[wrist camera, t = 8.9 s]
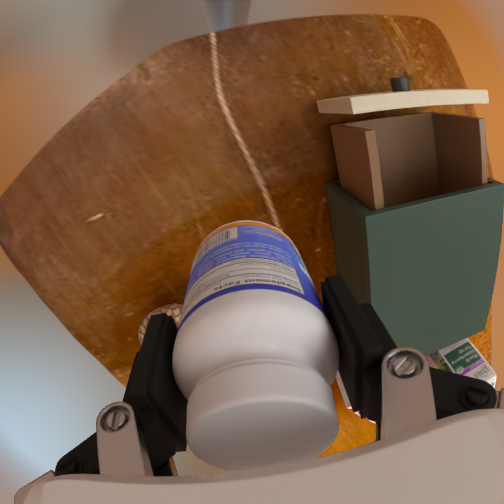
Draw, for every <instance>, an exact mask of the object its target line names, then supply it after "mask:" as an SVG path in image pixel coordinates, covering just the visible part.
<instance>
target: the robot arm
mask: <svg viewBox="0 0 504 504" xmlns="http://www.w3.org/2000/svg"><path fill="white" fill-rule="evenodd" d="M321 290H322V298H323V307H324V310H325V312H326V315H327V317H328V319H329V321H330V324H331V326H332V329H333V331H334V334H335V336H336V339H337V342H338V346H339V354H340V356H339V357H340V360H339V367H338V371H339V374H340V377H341V379H342V382H343V385H344V388H345V390H346V393H347V396H348V399H349V402H350V404H351V407H352V410H353V412H357V411H359V414H360V416H361V419H363V418H366V417H367V419H368V420H371V421H374V422H375V442H374V443H370V444H367V445H364V446H361V447H357V448H354V449H351V450H347V451H343V452H340V453H336V454H332V455H328V456H324V457H320V458H315V459H311V460H306V461H302V462H297V463H292V464H286V465H281V466H275V467H269V468H263V469H256V470H249V471H241V472H232V473H222V474H210V475H194V476H178V473H177V470H176V467H175V463H174V460H173V457H172V456H173V455H175V453H176V452H180V451H186V446H187V439H186V424H187V404H188V400H187V399H186V398H185V396H184V395H183V394H182V392H181V391H180V389H179V388H178V386H177V383H176V381H175V378H174V374H173V368H172V356H173V349H174V344H175V340H176V335H177V330H178V328H177V326H176V323H175V321H174V319H173V317H172V316H171V315H170V316H168V315H167V314H166V313H160V314H155V315H151V316H150V319H149V322H148V325H147V328H146V332H145V335H144V338H143V341H142V344H141V348H140V351H138V352H137V354H136V357H135V360H134V363H133V367H132V370H131V373H130V377H129V380H128V384H127V387H126V391H125V394H124V398H123V402H114V403H111V404H109V405H107V406H106V407H105V408H103V409H102V411H101V412H100V413H99V415H98V417H97V421H96V431H97V432H96V433H94V434H93V435H91V436H90V437H89V438H87V439H86V440H85V441H83V442H82V443H81V444H80V445H78V446H77V447H75V448H74V449H73V450H71V451H70V452H68V453H67V454H66V455H64V456H63V457H62V458H61V459H60V460H59V461H58V463H57V465H56V469H55V472H54V471H52V470H50V471H49V472H47V473H45V474H44V475H42V476H40V477H39V478H37V479H35V480H34V481H32V482H31V483H29V484H27V485H25V486H24V487H22V488H20V489H19V490H18V491H17V493H16V495H15V497H14V504H504V389H503V388H502V389H501V391H495V389H494V388H493V386H492V385H491V384H489V383H488V382H486V381H484V380H481V379H477V378H473V377H468V376H464V375H460V374H456V373H452V372H448V371H444V370H440V369H437V368H433V367H429V364H428V360H427V358H426V356H425V355H424V354H423V353H422V352H421V351H420V350H418V349H416V348H412V347H399V348H398V347H397V346H396V344H395V342H394V341H393V339H392V337H391V336H390V334H389V332H388V331H387V329H386V327H385V326H384V324H383V323H382V321H381V319H380V318H379V316H378V315H377V313H376V311H375V310H374V308H373V307H372V305H371V304H370V303H364V304H361V305H359V304H358V302H357V300H356V299H355V297H354V295H353V293H352V292H351V290H350V288H349V287H348V285H347V283H346V282H345V280H344V279H343V277H342V275H341V274H337V275H333V276H329V277H326V278H325V282H321Z"/></svg>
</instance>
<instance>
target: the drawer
mask: <svg viewBox="0 0 504 504" xmlns="http://www.w3.org/2000/svg"><path fill="white" fill-rule="evenodd" d="M390 80H391V85H392V90H393V91H389V92H379V93H369V94H360V95H352V96H344V97H337V98H330V99H324V100H317V101H316V102H317V106H318V111H319V113H337V114H360V113H367V112H375V111H383V110H392V109H401V108H411V107H423V106H437V105H455V104H488V103H489V98H488V91H487V90H478V89H418V90H410V86H409V81H408V77H401V78H391V79H390ZM330 129H331V134H332V140H333V145H334V150H335V156H336V162H337V167H338V173H339V180H340V186H341V189H342V190H344V191H345V192H346V193H348V194H349V195H350V196H352V197H353V198H354V199H356V200H357V201H358V202H359V203H361V204H362V205H363V206H365V207H366V208H367V209H368V210H370V211H373V210H378V209H382V208H386V207H390V206H395V205H399V204H403V203H407V202H412V201H416V200H420V199H425V198H429V197H433V196H438V195H442V194H447V193H451V192H455V191H460V190H464V189H469V188H473V187H477V186H482V185H486V184H488V167H487V144H486V132H485V119H484V118H478V117H471V116H464V115H456V114H447V113H438V112H426V113H416V114H406V115H397V116H388V117H380V118H373V119H366V120H359V121H352V122H346V123H340V124H334V125H330Z"/></svg>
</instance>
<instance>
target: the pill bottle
mask: <svg viewBox="0 0 504 504" xmlns="http://www.w3.org/2000/svg"><path fill="white" fill-rule="evenodd" d="M339 356H340V354H339V346H338V342H337V339H336V336H335V334H334V331H333V329H332V326H331V324H330V321H329V319H328V317H327V315H326V312H325V310H324V308H323V305H322V303H321V301H320V299H319V296H318V294H317V292H316V290H315V287H314V285H313V283H312V280H311V278H310V276H309V273H308V271H307V269H306V267H305V264H304V262H303V260H302V257H301V256H300V253H299V251H298V250H297V248H296V246H295V245H294V243H293V242H292V241H291V239H290V238H289V237H288V236H287V235H286V234H285V233H283V232H282V231H281V230H279V229H278V228H276V227H274V226H271V225H269V224H266V223H263V222H259V221H252V220H242V221H235V222H231V223H228V224H225V225H223V226H221V227H219V228H217V229H216V230H214V231H213V232H211V233H210V234H209V235H208V236H207V237H206V238H205V239H204V240H203V242H202V243H201V244H200V246H199V248H198V250H197V251H196V254H195V257H194V260H193V263H192V267H191V272H190V277H189V281H188V286H187V290H186V295H185V299H184V304H183V308H182V312H181V317H180V321H179V326H178V330H177V335H176V340H175V344H174V349H173V356H172V368H173V374H174V378H175V381H176V383H177V386H178V388H179V389H180V391H181V392H182V394H183V395H184V396H185V398H186V399H187V400H188V404H187V424H186V439H187V444H188V446H189V448H190V450H191V451H192V452H193V453H194V454H195V455H196V456H197V457H198V458H199V459H201V460H202V461H204V462H206V463H208V464H210V465H212V466H214V467H217V468H221V469H224V470H229V471H234V472H241V471H249V470H256V469H263V468H269V467H275V466H281V465H286V464H292V463H297V462H302V461H306V460H311V459H313V458H315V457H317V456H318V455H320V454H321V453H322V452H324V451H325V450H326V449H327V448H328V447H329V446H330V445H331V444H332V443H333V441H334V440H335V438H336V436H337V434H338V428H339V423H338V418H337V414H336V409H335V405H334V398H333V393H332V390H331V388H330V387H331V385H332V383H333V381H334V379H335V377H336V374H337V371H338V367H339V360H340V357H339Z"/></svg>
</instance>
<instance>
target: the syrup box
mask: <svg viewBox="0 0 504 504" xmlns="http://www.w3.org/2000/svg"><path fill="white" fill-rule="evenodd" d="M426 358H427V360H428V364H429V367H433V368H437V369H440V370H444V371H448V372H452V373H456V374H460V375H464V376H468V377H473V378H477V379H481V380H484V381H486V382H488V383H489V384H491V385H492V386H493V388H494V386H495V382H496V373H495V371H494V370H493V369H492V367H491V366H490V365H489V363H488V362H487V361H486V360H485V358H484V357H483V356H482V355H481V353H480V352H479V351H478V350H477V349H476V347H475V346H474V345H473V344H472V343H471V341H470V340H469V339H468V338H465V339H463V340H461V341H459V342H457V343H454V344H452V345H450V346H448V347H445V348H443V349H441V350H438V351H436V352H433V353H431V354H428V355H426Z"/></svg>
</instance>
